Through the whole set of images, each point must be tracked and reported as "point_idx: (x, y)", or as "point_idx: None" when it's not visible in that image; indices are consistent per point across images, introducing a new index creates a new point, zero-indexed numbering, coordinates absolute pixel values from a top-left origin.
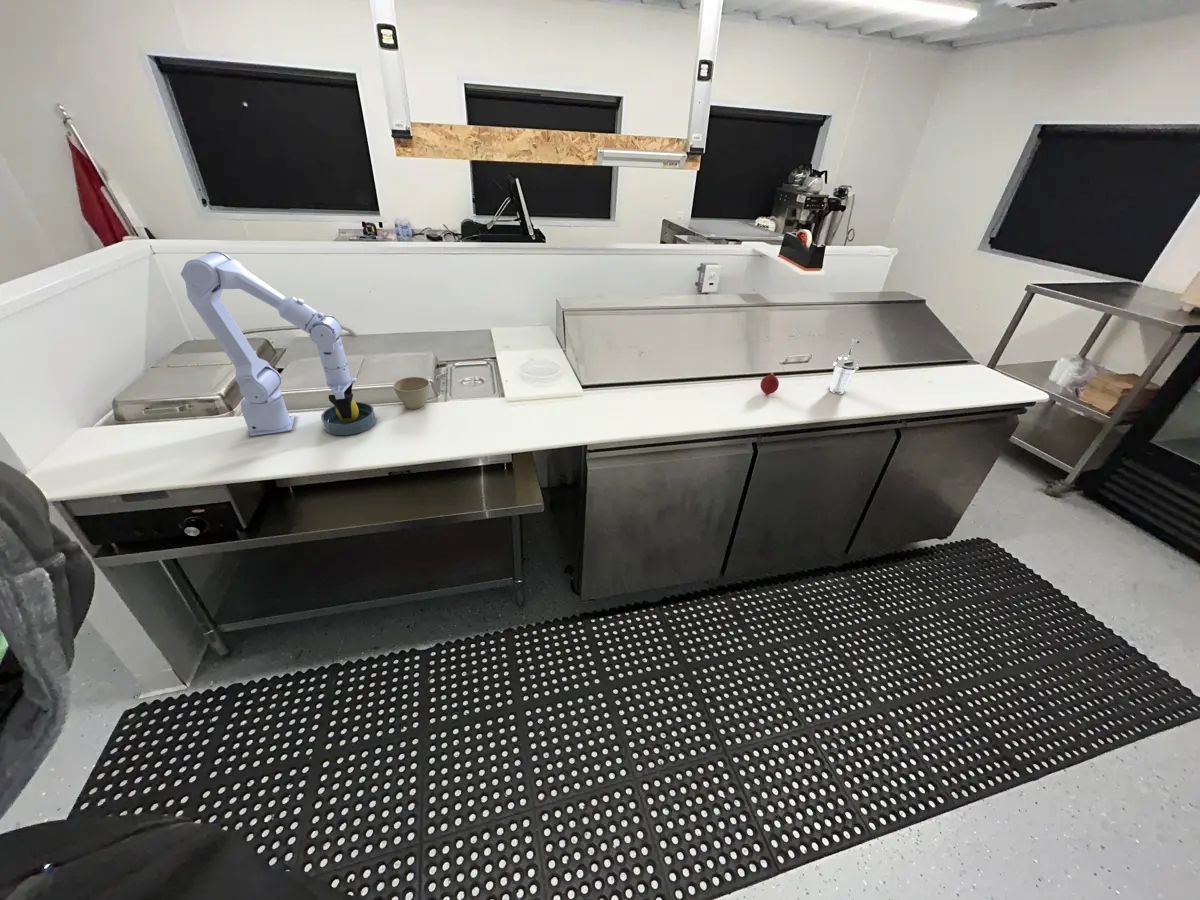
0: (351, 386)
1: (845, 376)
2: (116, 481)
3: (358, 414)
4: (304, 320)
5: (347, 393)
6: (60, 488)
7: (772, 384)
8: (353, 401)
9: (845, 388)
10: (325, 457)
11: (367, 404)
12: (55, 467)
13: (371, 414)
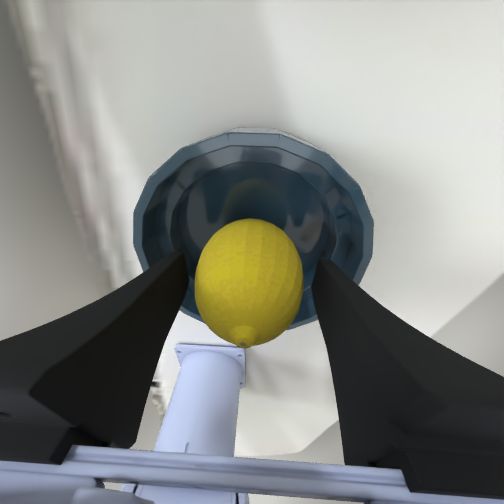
0: (103, 335)
1: None
2: (305, 439)
3: (262, 220)
4: None
5: (150, 311)
6: (295, 451)
7: None
8: (251, 276)
9: None
10: (432, 298)
11: (168, 171)
12: (253, 453)
13: (320, 151)
